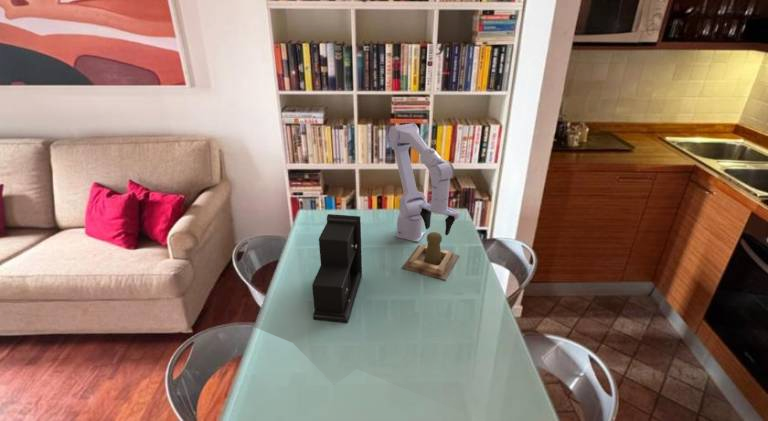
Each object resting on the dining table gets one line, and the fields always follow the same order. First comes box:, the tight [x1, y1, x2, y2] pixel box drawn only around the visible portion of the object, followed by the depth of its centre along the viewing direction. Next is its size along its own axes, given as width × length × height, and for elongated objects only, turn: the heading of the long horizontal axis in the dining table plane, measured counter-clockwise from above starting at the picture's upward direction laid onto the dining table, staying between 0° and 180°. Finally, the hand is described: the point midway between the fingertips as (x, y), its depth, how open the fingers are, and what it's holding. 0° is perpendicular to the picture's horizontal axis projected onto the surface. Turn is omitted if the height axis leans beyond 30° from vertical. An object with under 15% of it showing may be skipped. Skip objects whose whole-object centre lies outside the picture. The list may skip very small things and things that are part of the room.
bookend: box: [311, 213, 363, 324], centre depth 124 cm, size 23×11×24 cm, turn 172°
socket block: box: [401, 243, 460, 281], centre depth 146 cm, size 16×16×2 cm
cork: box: [424, 231, 443, 265], centre depth 144 cm, size 6×6×11 cm
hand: (437, 230), depth 146 cm, fingers open, 7 cm apart
